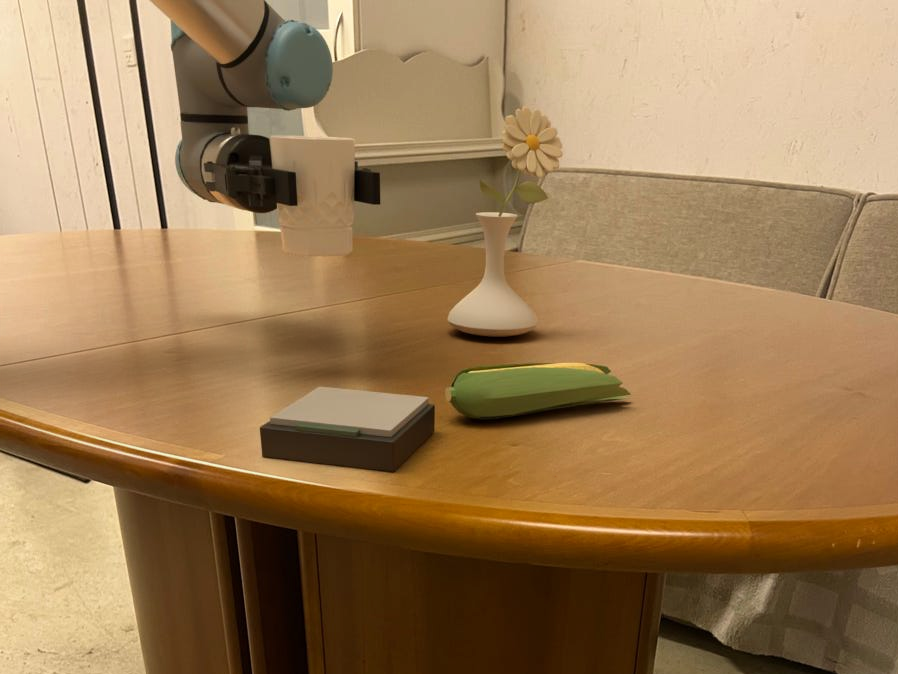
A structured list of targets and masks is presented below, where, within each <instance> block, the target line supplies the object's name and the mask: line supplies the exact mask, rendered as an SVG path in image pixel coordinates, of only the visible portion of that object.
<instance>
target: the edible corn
mask: <svg viewBox="0 0 898 674" xmlns="http://www.w3.org/2000/svg"><path fill="white" fill-rule="evenodd" d="M611 372H612V370H611V369H609V367H608V366H605V365H598V364H592V363H584V362H525V363H524V362H523V363H498V364H487V365H477V366H470V367H467V368H464V369H461V370H460V371H459V372H457V374H456V375H455V377H454V378H453V380H452V382H451V385H450V386H449V387H446V388H445V391H444V396H445V399H446V402H447V403H450V404H451V406H452V407H453V408H454V409H455V410H456V411H457V412H458V413H459V414H461V415H462V416H465V417H467V418H468V419H476V420H477V419H478V420H487V421H488V420H491V421H492V420H497V419H505V418H511V417H516V416H522V415H527V414H533V413H538V412H544V411H551V410H558V409H563V408H570V407H577V406H583V405H590V404H597V403H606V402H613V401H619V400H627V399H630V398H631V395H632V394H631V392H629V390H628V389H626V388H624V387H623V386H622V384H623V381H622V380H620V379H619V378H618V377H616V376H615V375H612V374H610V373H611ZM621 386H622V387H621Z"/></svg>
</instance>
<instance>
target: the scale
mask: <svg viewBox="0 0 898 674" xmlns="http://www.w3.org/2000/svg"><path fill="white" fill-rule="evenodd" d="M435 407H436V405H435V404H434V403H433V404H432V403H430V397H428V396H420V395H409V394H399V393H390V392H380V391H379V392H378V391H369V390H361V389H350V388H349V389H348V388H338V387H328V386H318V387H316V388H315V389H313V390H311V391H309V392H308V393H307V394H305V395H304V396H302V397H300V398H299V399H297V400H295V401H294V402H292V403H290V404H288V405H287V406H286V407H283V408H282V409H280V410H279V411H278V412H276V413H273V415H271V416H270V417H269V421H267V422H265V423H264V424H262V425H261V426H259V436H260V445H261V457H263V458H272V459H279V460H288V461H296V462H307V463H315V464H323V465H331V466H332V465H333V466H338V467H339V466H342V467H349V468H357V469H365V470H374V471H382V472H383V471H384V472H391V473H394V472H395V471H396V470H397V469H399V467H401V466H402V464H403V463H405V461H407V459H409V458H410V456H412V454H414V453H415V452H416V451H417V450H418V448H420V446H422V445H423V444H424V443H425V442H426V441H427V440H428V439H429V437H431V436H432V435H433V434H434V433H435V429H436V428H435V421H436V419H435V418H436V413H435V412H436V411H435V410H436V408H435Z"/></svg>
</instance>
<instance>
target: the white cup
mask: <svg viewBox="0 0 898 674" xmlns="http://www.w3.org/2000/svg"><path fill="white" fill-rule="evenodd" d="M268 138H269V141H270V150H271V159H272V169H278V170H284V171H291V172H296V186H297V203H298V206H288V205H284V204H279V203H277V209H276V211H277V216H278V221H279V224H280V227H279V228H280V238H281V247H282V252H283V253H285V254H287V255H294V256H301V257H314V258H315V257H321V258H325V257H340V256H347V255H350V254H352V253H353V249H354V248H353V247H354V246H353V239H354V238H353V237H354V236H353V235H354V233H353V227H352V226H353V224H354V219H355V208H354V205H355V201H354V180H355V161H356V159H355V158H356V157H355V155H356V139H355V138H353V137H342V136H341V137H339V136H321V135H320V136H317V135H287V134H286V135H285V134H284V135H283V134H282V135H278V134H277V135H269V136H268Z"/></svg>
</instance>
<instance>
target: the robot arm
mask: <svg viewBox="0 0 898 674" xmlns="http://www.w3.org/2000/svg"><path fill="white" fill-rule="evenodd" d="M149 2H151V3H152V4H153V5H154V6H155V7H156V8H157V9H158V10H159V11H160V12H162V14H163V15H165V16H166V17H167V18H168V19H169V20H170V34H171V35H170V36H171V42H170V50H171V53H172V61H173V68H174V76H175V83H176V84H175V85H176V91H177V99H178V106H179V117H180V121H179V122H180V132H181V140H180V141H179V142H178V144H177V147H176V150H175V155H174V163H175V169H176V172H177V176H178V178H179V180H180V181H181V183H182V184H183V185H184V186H185V187H186V188H187V189H188V190H189V191H190V192H191V193H192V194H194V195H196V196H197V197H199V198H201V199H202V200H203V201H208V202H209V203H217V204H222V205H225V206H228V207H231V208H235V209H239V210H241V211H247V212H250V213H254V214H268V213H271V212H274V211H275V210H276V211H277V203H279V204H284V205H288V206H298V203H297V186H296V172H291V171H284V170H278V169H272V159H271V150H270V141H269V137H267V136H265V135H260V134H250V133H249V132H250V131H249V114H248V108H260V109H273V110H274V109H275V110H277V109H278V110H283V111H288V112H290V111H293V110H297V109H309V108H313V107H315V106H316V105H319V104H320V103H321V102H322V101H323V100H324V98H325V97H326V96H327V94H328V92H329V90H330V87H331V86H332V85H331V84H332V81H333V73H334V66H333V65H334V63H333V57H332V54H331V50H330V47H329V45H328V43H327V41H326V40H325V38H324V36H323V35H322V34H321V33H320V31H319V30H318V29H316V28H315V27H314V26H312V25H311V24H308V23H305V22H300V21H298V20H294V19H290V20H289V19H288V20H287V21H286V20H285V19H284V18H283V17H282V16H281V15H280V14H279V13H278V12H277V11H276V10H275V9H274V8H273V7H272V6H271V5H270V4H269V3H268V2H267V1H266V0H149ZM354 202H358V203H362V204H363V203H364V204H368V205H373V206H375V205H377V206H378V205H381V172H378V171H372V169H371V168H368V167H362V168H361V167H360V168H359V162H358V160H355V180H354Z"/></svg>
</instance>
